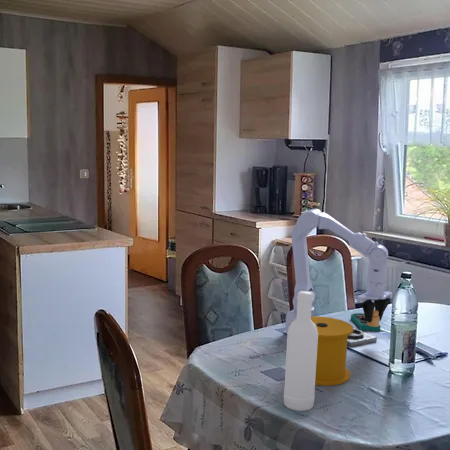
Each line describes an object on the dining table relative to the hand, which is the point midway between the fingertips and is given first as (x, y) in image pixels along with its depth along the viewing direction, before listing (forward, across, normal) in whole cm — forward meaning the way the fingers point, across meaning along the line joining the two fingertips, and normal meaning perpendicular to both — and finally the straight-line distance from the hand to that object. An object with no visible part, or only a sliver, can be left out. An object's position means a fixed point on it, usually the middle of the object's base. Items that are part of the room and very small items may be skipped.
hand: (373, 320), depth 211 cm
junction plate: (+8, -2, +7) cm, 11 cm away
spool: (+9, -33, -12) cm, 36 cm away
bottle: (+8, -52, -26) cm, 59 cm away
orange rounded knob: (+1, 0, 0) cm, 1 cm away
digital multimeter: (+9, +14, +17) cm, 24 cm away
